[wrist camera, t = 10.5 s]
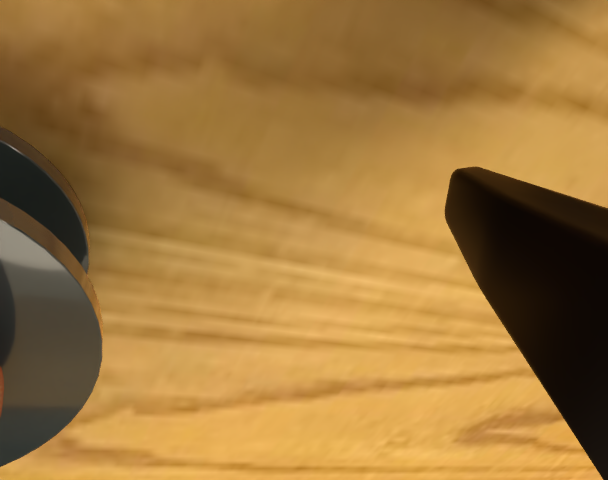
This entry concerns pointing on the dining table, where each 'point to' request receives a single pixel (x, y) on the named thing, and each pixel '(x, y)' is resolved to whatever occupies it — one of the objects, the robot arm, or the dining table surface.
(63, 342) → the cake stand
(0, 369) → the fruit slice
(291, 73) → the dining table surface
